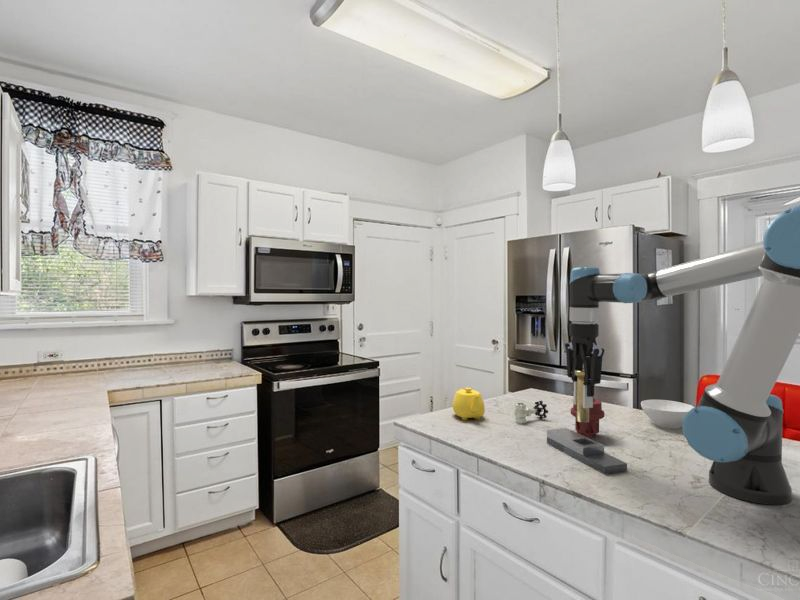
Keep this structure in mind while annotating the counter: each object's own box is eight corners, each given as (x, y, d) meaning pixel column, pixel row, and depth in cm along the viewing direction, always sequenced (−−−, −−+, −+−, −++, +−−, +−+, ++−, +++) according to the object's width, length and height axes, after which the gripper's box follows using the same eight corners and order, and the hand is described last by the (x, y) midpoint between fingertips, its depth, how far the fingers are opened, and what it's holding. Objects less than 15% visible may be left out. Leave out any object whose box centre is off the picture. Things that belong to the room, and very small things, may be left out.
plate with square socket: (627, 471, 113) (627, 455, 113) (604, 474, 111) (604, 458, 111) (566, 440, 136) (566, 427, 136) (546, 443, 134) (546, 430, 134)
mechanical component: (600, 431, 145) (608, 441, 135) (568, 429, 147) (573, 439, 137) (600, 394, 145) (608, 401, 135) (568, 393, 147) (573, 400, 137)
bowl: (697, 436, 140) (697, 414, 140) (640, 428, 148) (640, 407, 148) (693, 422, 154) (693, 402, 153) (641, 416, 162) (641, 397, 161)
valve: (522, 425, 152) (548, 421, 157) (522, 406, 152) (548, 402, 157) (509, 420, 158) (535, 416, 163) (509, 402, 158) (535, 398, 163)
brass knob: (595, 422, 122) (596, 371, 122) (581, 424, 121) (582, 372, 120) (583, 417, 127) (584, 368, 126) (570, 419, 125) (571, 369, 125)
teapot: (493, 423, 154) (493, 393, 154) (464, 425, 152) (463, 395, 151) (473, 409, 172) (473, 382, 172) (446, 411, 169) (446, 384, 169)
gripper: (617, 324, 116) (615, 412, 117) (575, 320, 132) (574, 397, 133) (593, 325, 114) (592, 415, 115) (554, 320, 130) (553, 399, 130)
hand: (583, 405), depth 124 cm, fingers closed on brass knob, 3 cm apart
